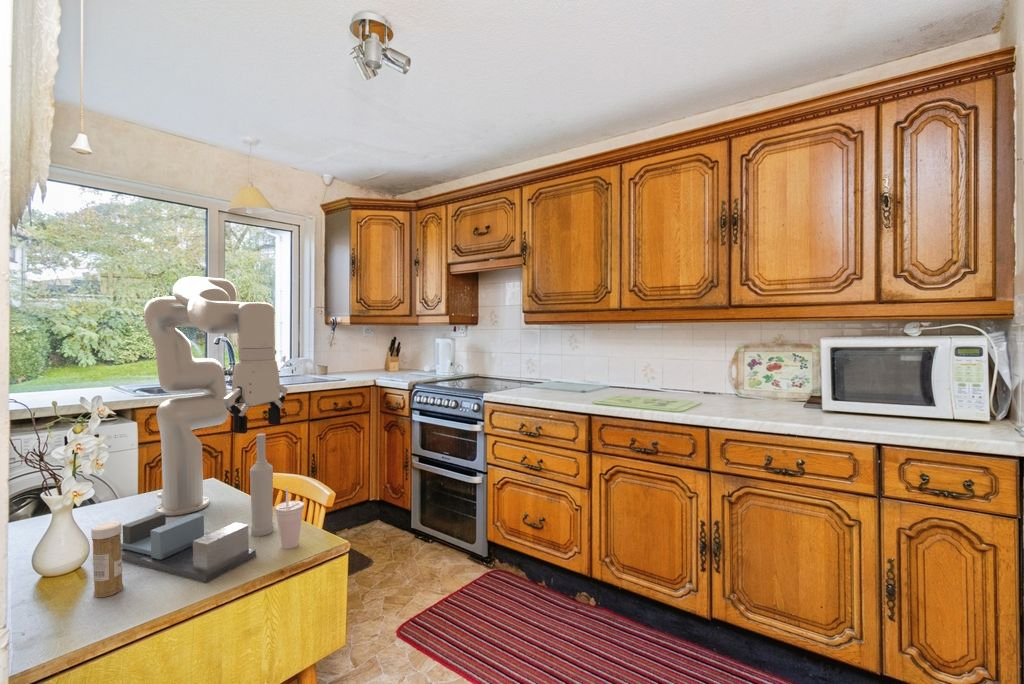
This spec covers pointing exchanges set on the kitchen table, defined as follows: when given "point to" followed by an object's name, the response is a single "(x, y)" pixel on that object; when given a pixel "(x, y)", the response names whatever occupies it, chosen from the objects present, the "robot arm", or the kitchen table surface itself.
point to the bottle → (261, 491)
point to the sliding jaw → (162, 534)
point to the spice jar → (107, 558)
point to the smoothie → (289, 522)
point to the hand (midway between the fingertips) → (258, 428)
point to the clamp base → (183, 563)
